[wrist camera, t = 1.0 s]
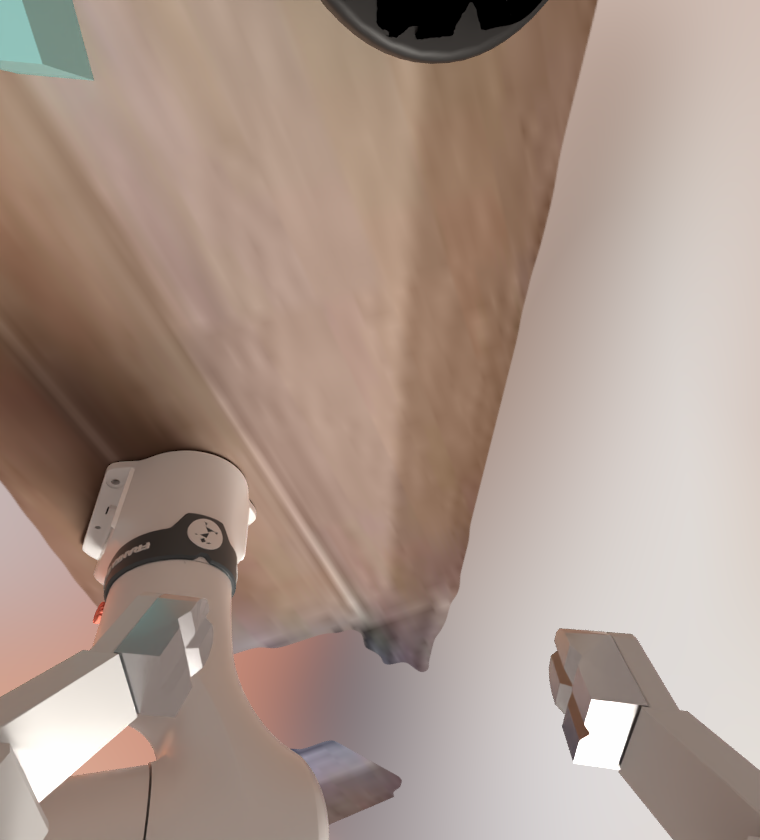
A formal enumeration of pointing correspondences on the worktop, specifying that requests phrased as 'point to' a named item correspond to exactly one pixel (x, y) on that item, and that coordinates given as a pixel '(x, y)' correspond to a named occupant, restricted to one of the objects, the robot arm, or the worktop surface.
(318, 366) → the worktop surface
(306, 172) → the worktop surface
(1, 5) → the teal block
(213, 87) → the worktop surface
